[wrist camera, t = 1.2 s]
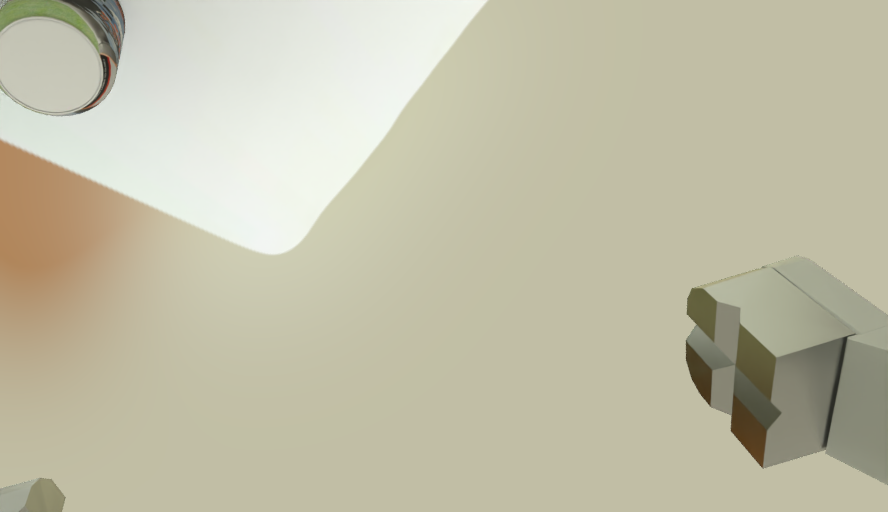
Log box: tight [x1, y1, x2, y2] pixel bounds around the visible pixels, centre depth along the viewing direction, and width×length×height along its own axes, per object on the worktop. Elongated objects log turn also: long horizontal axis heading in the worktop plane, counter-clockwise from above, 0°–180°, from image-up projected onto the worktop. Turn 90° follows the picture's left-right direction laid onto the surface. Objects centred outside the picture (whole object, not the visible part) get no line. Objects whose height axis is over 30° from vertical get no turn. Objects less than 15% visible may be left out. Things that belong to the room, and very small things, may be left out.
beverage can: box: [0, 0, 125, 116], centre depth 39 cm, size 6×7×12 cm
